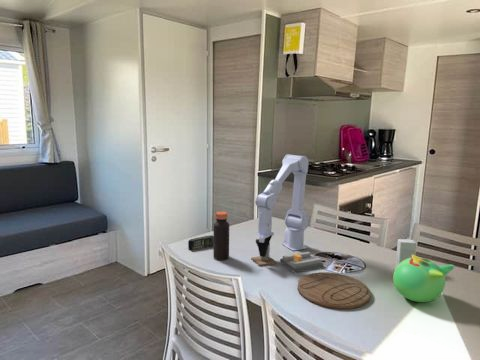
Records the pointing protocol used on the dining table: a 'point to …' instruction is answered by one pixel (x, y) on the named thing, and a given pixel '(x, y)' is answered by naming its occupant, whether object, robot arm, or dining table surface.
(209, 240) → the mobile phone
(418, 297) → the toy bird
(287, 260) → the box
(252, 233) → the dining table surface
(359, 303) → the trivet
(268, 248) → the brushed metal block
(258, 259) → the cork coaster
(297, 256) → the breaker switch
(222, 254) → the bottle
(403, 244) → the skincare box
